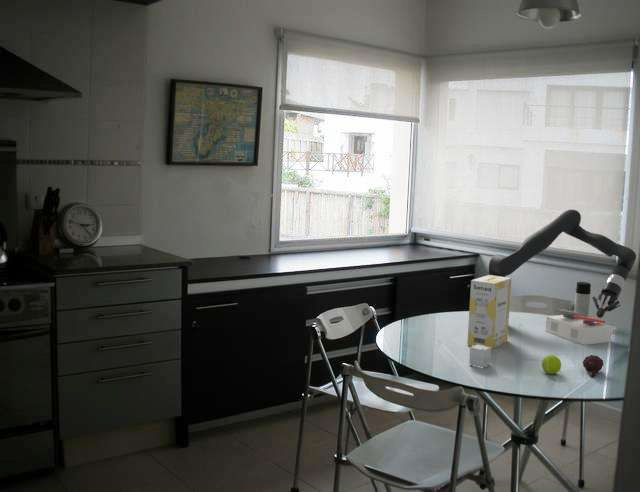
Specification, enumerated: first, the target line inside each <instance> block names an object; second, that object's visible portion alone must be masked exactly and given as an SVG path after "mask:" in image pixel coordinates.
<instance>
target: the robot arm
mask: <svg viewBox="0 0 640 492" xmlns="http://www.w3.org/2000/svg"><path fill="white" fill-rule="evenodd" d="M581 221H582V216H581V213H580V212H579V211H578V210H576V209H567V210H565V211H564V212H563V211H562V212H561V213H560V215H559V216H557V217H556V218H555V219H554V220H552V221H551V222H550V223H548V224H546V225H545V226H543V227H541V228H540V229H539V230H537V231H536V232H535V231H534V233H532V234H531V235H530V236H527V238H525V239H524V241H522V243H521V245H520V247H519V248H518V249H517V250H515V251H514V252H513V253H511V254H508V255H506V256H505V255H502V254H495V255H493V256H492V257H491V258H490V259H489V263H488V275H493V276H501V277H507V276H510V275H512V274H513V273H514V272H515V271H517V270H518V269H519V268H520V267H521V266H523V265H524V264H525V263H526V262H528V261H529V260H531V259H533V258H534V257H536V256H537V255H539V254H540V253H542V252H543V251H545V250H546V249H548V248H549V247H550V246H551V245H552V244H553V243H554V242H555V240H556V239H557V238H558V237H559V236H560V235H561V234H562V233H564V234H566V235H568V236H570V237H572V238H575V239H577V240H579V241H581V242H584V243H586V244H587V245H590V246H591V247H593V248H595V249H597V250H598V251H599V252H601V253H603V254H604V255H605V256H607V257H611V258H612V257H613V256H615V257H618V259H617V262H616V264H615V266H614V267H613V268H612V270H611V272H610V275H609V276H608V278H607V279H606V281H605V282H604V286H602V289H601V292H600V293H599V294H598V295H597V296H592V301H593V302H594V303H593V304H594V305H595V307H596V309H597V311H596V316H597V319H602V318H603V317H604V315H605V314H606V312H612V311H613V310H614V311H615V309H617V308H620V307H621V303H620V301H619V300H618V298H619V296H620V295H621V293H622V291H623V288H624V285H625V284H626V281H627V278H628V276H629V273H631V270H632V268H633V266H634V265H635V261H636V259H637V254H636V252H635V251H634V250H633V249H631V248H629V247H627V246H625V245H622V244H619V243H616V242H615V241H613V240H612V239H611V238H608V237H607V236H605V235H603V234H598V233H593V232H590V231H588V230H586V229H584V228H583V227H582V226H581V225H580V224H581Z"/></svg>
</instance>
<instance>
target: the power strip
mask: <svg viewBox="0 0 640 492" xmlns="http://www.w3.org/2000/svg"><path fill="white" fill-rule="evenodd" d="M545 322H546V323H545V332H547V333H550V334H552V335H555V336H558V337H559V338H560V337H561V338H564V339H566V340H569V341H572V342H575V343H577V344H581V345H583V346H585V345H593V344H604V343H605V344H606V343H611V342H612V338H613V329H614V328H613V327H614V326H613V325H609V324H606V323H605V324H603V323H598V322H591V321H587V320H582V319H579V318H575V317H573V316H572V315H569V314H564V313H562V314H560V315H559V314H558V315H549V316H548V315H547V316H546V321H545Z"/></svg>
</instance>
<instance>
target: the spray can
mask: <svg viewBox="0 0 640 492" xmlns="http://www.w3.org/2000/svg"><path fill="white" fill-rule="evenodd" d="M591 287H592V285H591V283H590V282H586V281H578V282H576V288H575V298H574V307H573V308H574V309H573V310H574V311H573V312H578V313H581V314H584V315H585V316H586V317H589V314H590V313H589V311H590V301H591Z"/></svg>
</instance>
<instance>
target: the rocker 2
mask: <svg viewBox="0 0 640 492" xmlns="http://www.w3.org/2000/svg"><path fill="white" fill-rule="evenodd" d="M573 317H575V318H579V319H582V320H587V321H591V322H598V323H603V324H606V320H603V319H601V318H598V317H597V318H596V317H590V316H588V317H586V316H581V315H576V314H574V316H573Z"/></svg>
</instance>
